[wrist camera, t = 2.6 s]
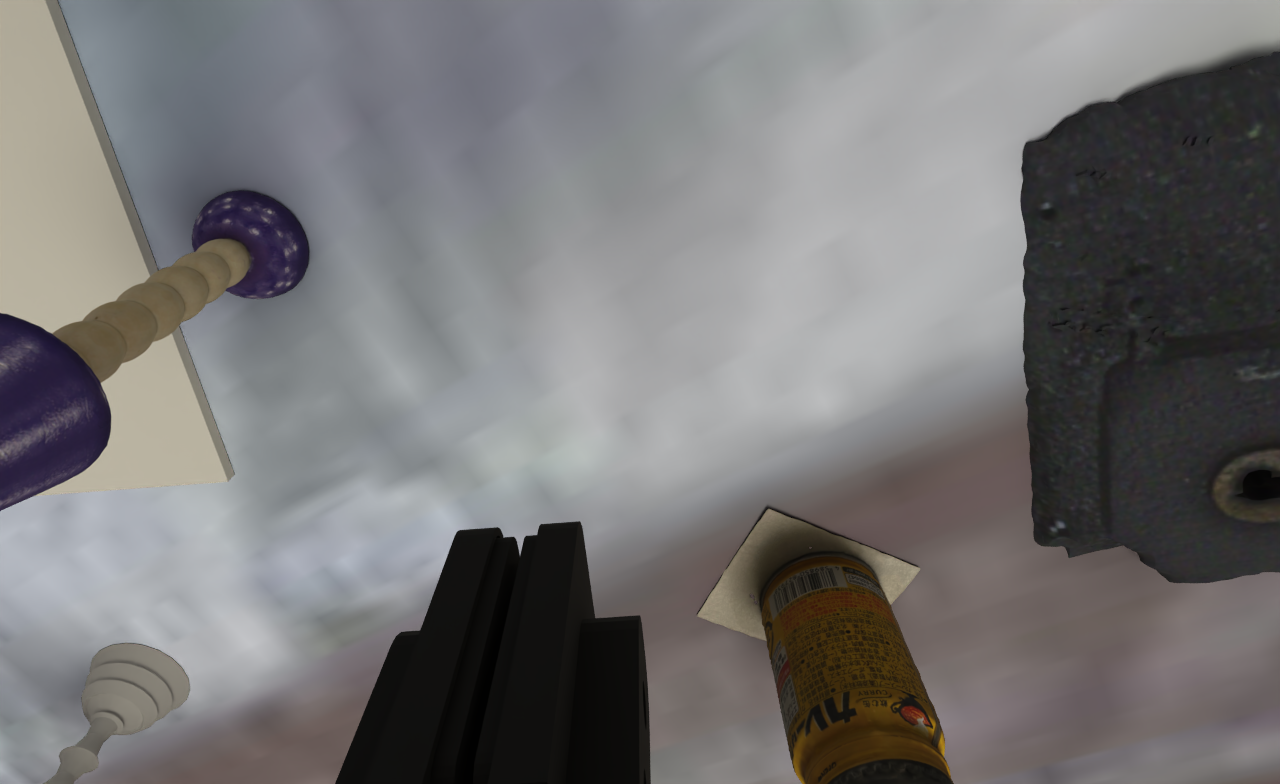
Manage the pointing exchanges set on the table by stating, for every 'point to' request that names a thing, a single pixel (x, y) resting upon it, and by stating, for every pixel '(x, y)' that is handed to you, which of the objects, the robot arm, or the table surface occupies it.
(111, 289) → the mat
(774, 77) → the table surface
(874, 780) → the condiment
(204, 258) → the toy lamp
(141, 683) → the chalice
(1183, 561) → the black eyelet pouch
